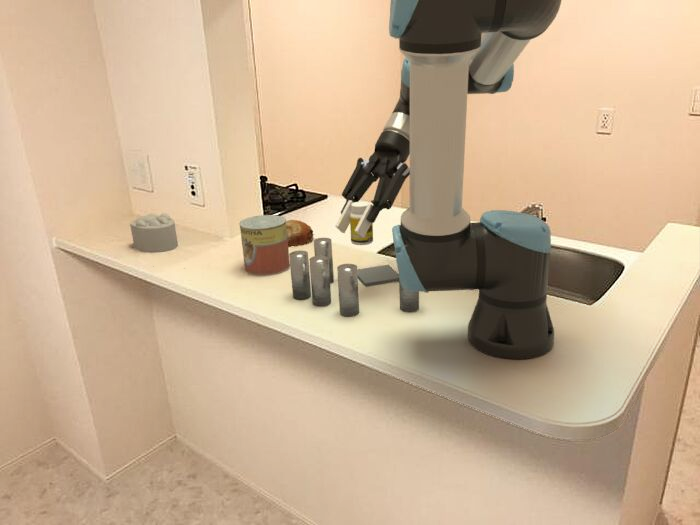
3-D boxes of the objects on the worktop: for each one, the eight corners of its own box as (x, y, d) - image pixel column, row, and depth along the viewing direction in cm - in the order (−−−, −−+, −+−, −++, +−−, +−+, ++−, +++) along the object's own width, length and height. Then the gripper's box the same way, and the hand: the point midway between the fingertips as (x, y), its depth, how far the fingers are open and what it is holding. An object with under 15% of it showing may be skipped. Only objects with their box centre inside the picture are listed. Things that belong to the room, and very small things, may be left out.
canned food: (236, 268, 150) (230, 222, 146) (273, 256, 157) (269, 212, 153) (260, 279, 142) (255, 231, 138) (299, 267, 149) (295, 220, 144)
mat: (402, 280, 137) (402, 277, 137) (365, 286, 135) (365, 283, 135) (388, 267, 145) (388, 264, 145) (353, 273, 143) (353, 270, 143)
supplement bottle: (371, 246, 125) (369, 207, 122) (349, 245, 126) (347, 206, 123) (374, 238, 129) (373, 200, 126) (353, 238, 130) (351, 200, 127)
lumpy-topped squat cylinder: (161, 237, 177) (156, 209, 174) (187, 245, 169) (182, 215, 166) (129, 247, 170) (124, 217, 167) (154, 256, 162) (149, 225, 159)
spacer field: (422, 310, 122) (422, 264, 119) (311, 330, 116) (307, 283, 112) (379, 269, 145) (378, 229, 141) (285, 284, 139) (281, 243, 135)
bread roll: (284, 248, 174) (270, 225, 171) (315, 231, 173) (301, 208, 170) (285, 260, 164) (270, 236, 162) (317, 242, 164) (303, 217, 161)
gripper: (438, 153, 126) (391, 248, 121) (374, 146, 137) (328, 233, 132) (423, 131, 121) (373, 230, 115) (358, 126, 132) (309, 216, 127)
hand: (349, 231), depth 124 cm, fingers closed on supplement bottle, 5 cm apart
